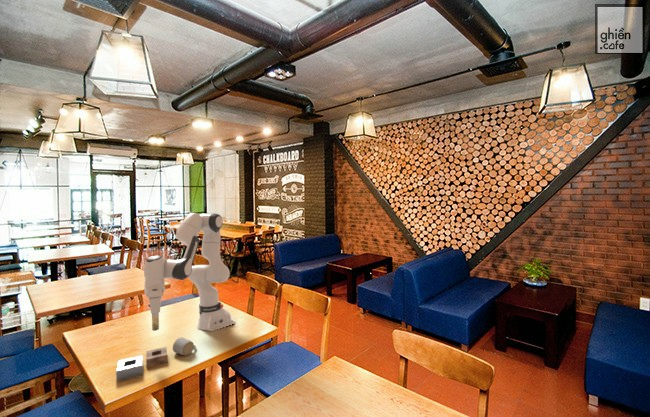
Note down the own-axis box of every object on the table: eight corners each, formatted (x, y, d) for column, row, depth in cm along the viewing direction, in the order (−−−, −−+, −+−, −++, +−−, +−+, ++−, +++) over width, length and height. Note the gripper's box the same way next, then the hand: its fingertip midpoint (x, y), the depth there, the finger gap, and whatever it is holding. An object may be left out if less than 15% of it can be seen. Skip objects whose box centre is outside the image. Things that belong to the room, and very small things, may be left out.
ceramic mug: (183, 358, 156) (183, 344, 155) (172, 355, 159) (172, 340, 159) (199, 349, 165) (199, 335, 165) (188, 346, 169) (188, 332, 168)
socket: (142, 364, 150) (142, 355, 149) (142, 375, 141) (142, 365, 141) (118, 370, 145) (118, 360, 144) (116, 382, 136) (116, 371, 136)
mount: (166, 354, 160) (166, 346, 159) (167, 362, 152) (167, 354, 152) (146, 358, 155) (146, 351, 155) (146, 367, 147) (146, 359, 147)
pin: (159, 327, 155) (159, 307, 155) (160, 330, 152) (159, 310, 151) (151, 328, 153) (150, 309, 153) (151, 331, 150) (150, 311, 149)
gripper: (147, 284, 159) (148, 310, 160) (147, 295, 141) (148, 325, 142) (161, 282, 162) (161, 308, 163) (162, 293, 144) (163, 322, 145)
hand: (155, 316), depth 152 cm, fingers closed on pin, 3 cm apart
